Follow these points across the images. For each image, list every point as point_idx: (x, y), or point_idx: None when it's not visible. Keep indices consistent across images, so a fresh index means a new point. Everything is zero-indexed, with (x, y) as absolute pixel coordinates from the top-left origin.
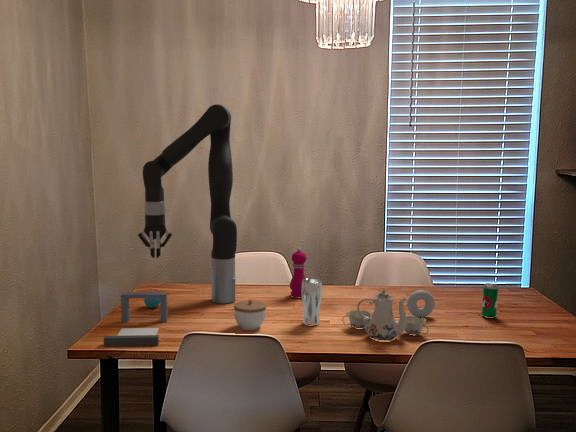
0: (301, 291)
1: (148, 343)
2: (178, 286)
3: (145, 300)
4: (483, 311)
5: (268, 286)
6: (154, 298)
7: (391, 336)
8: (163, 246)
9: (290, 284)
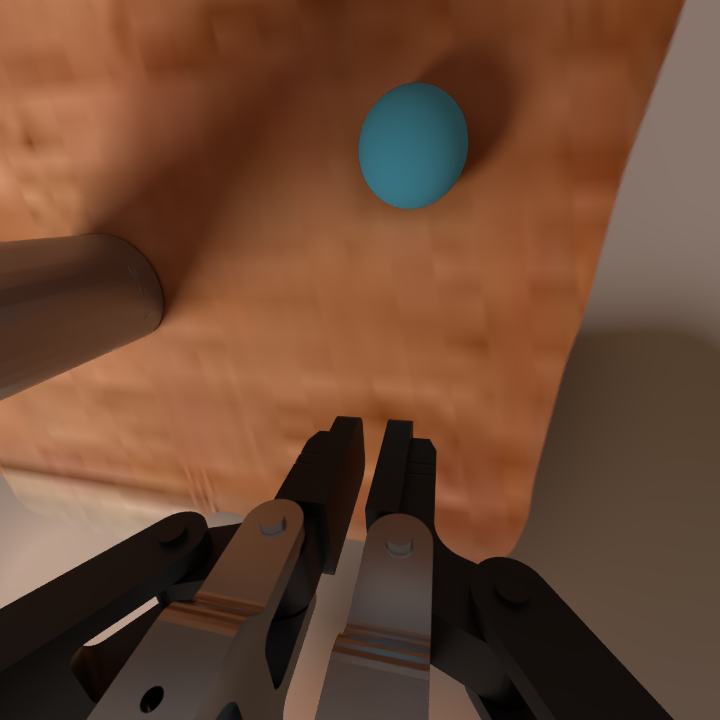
0: None
1: None
2: (355, 508)
3: (454, 100)
4: None
5: (50, 462)
6: (387, 94)
7: None
8: (181, 515)
9: None
